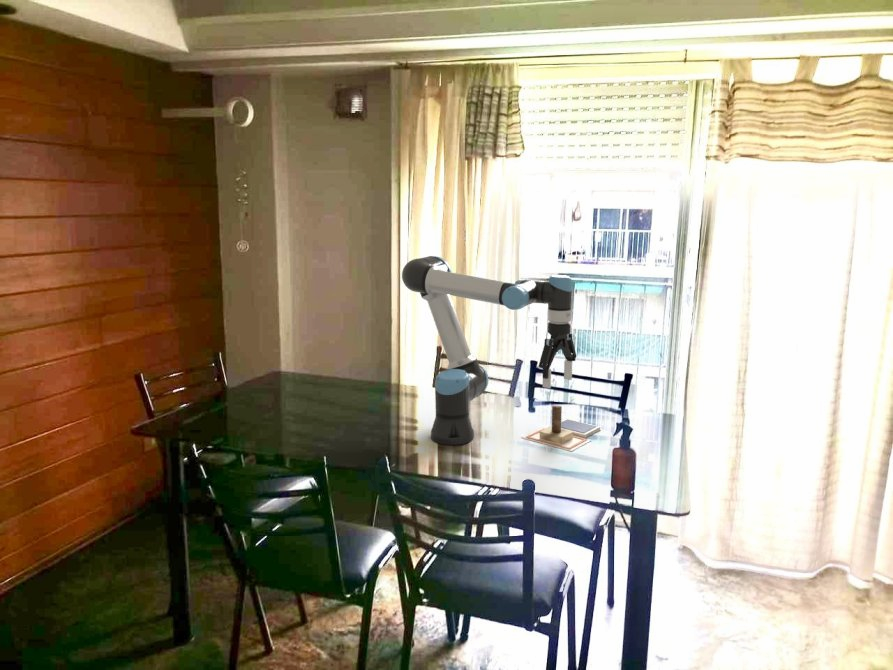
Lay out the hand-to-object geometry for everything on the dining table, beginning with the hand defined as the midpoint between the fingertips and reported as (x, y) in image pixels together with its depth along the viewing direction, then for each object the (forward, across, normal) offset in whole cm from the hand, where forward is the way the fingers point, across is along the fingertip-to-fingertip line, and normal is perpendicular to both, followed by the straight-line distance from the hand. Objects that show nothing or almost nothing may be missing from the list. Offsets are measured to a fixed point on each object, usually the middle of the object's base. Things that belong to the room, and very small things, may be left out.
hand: (557, 383), depth 226 cm
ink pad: (+20, +13, 0) cm, 24 cm away
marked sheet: (+20, 0, 0) cm, 20 cm away
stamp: (+20, 0, 0) cm, 20 cm away
